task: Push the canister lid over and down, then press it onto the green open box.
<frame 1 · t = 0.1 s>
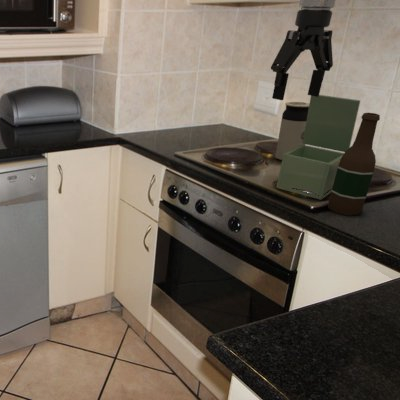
hand: (295, 97, 124), 25 cm above the countertop, tool pointing down, fingers open, 13 cm apart
beer bottle: (343, 210, 118), on the countertop
canister lid: (329, 123, 129), point 17 cm above the countertop, hinge at 80.0°
travel mug: (288, 159, 156), on the countertop
green open box: (307, 187, 132), on the countertop
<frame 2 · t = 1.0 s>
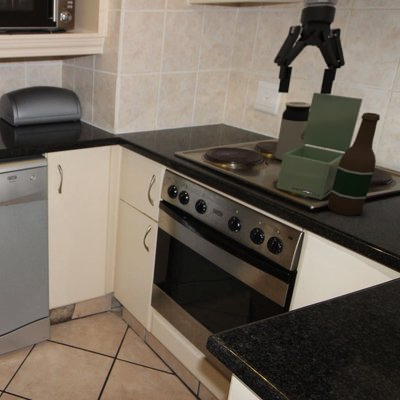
hand: (304, 93, 125), 25 cm above the countertop, tool pointing down, fingers open, 13 cm apart
canister lid: (331, 122, 129), point 17 cm above the countertop, hinge at 86.8°, touching gripper
everything else where it was.
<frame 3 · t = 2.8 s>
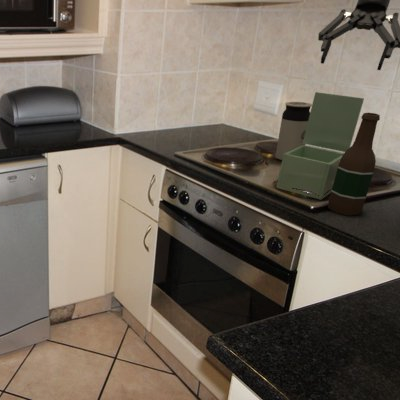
hand: (350, 64, 130), 32 cm above the countertop, tool tilted 40°, fingers open, 13 cm apart
canister lid: (331, 121, 130), point 17 cm above the countertop, hinge at 92.1°
everything else where it was.
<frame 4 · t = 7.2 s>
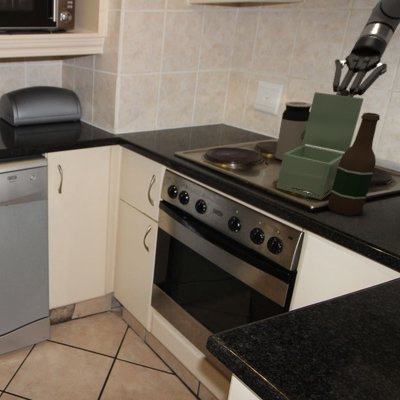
hand: (335, 111, 130), 20 cm above the countertop, tool tilted 45°, fingers closed
canister lid: (331, 122, 130), point 17 cm above the countertop, hinge at 90.3°, touching gripper
everything else where it was.
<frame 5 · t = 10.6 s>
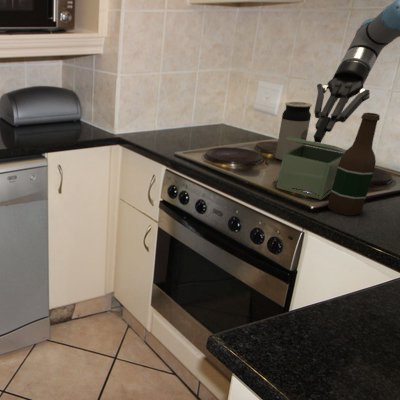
hand: (317, 139, 126), 14 cm above the countertop, tool tilted 45°, fingers closed
canister lid: (317, 145, 127), point 12 cm above the countertop, hinge at 15.8°, touching gripper
everything else where it was.
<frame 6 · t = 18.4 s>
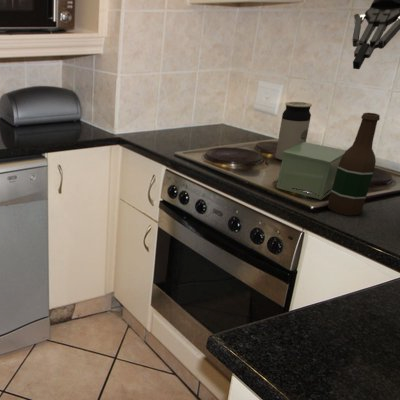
hand: (356, 65, 127), 32 cm above the countertop, tool tilted 45°, fingers closed
canister lid: (315, 152, 128), point 10 cm above the countertop, hinge at -0.2°, touching green open box
everything else where it was.
at the end: canister lid at +0° (first picture: +80°); beer bottle moved 0.2 cm from its start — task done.
